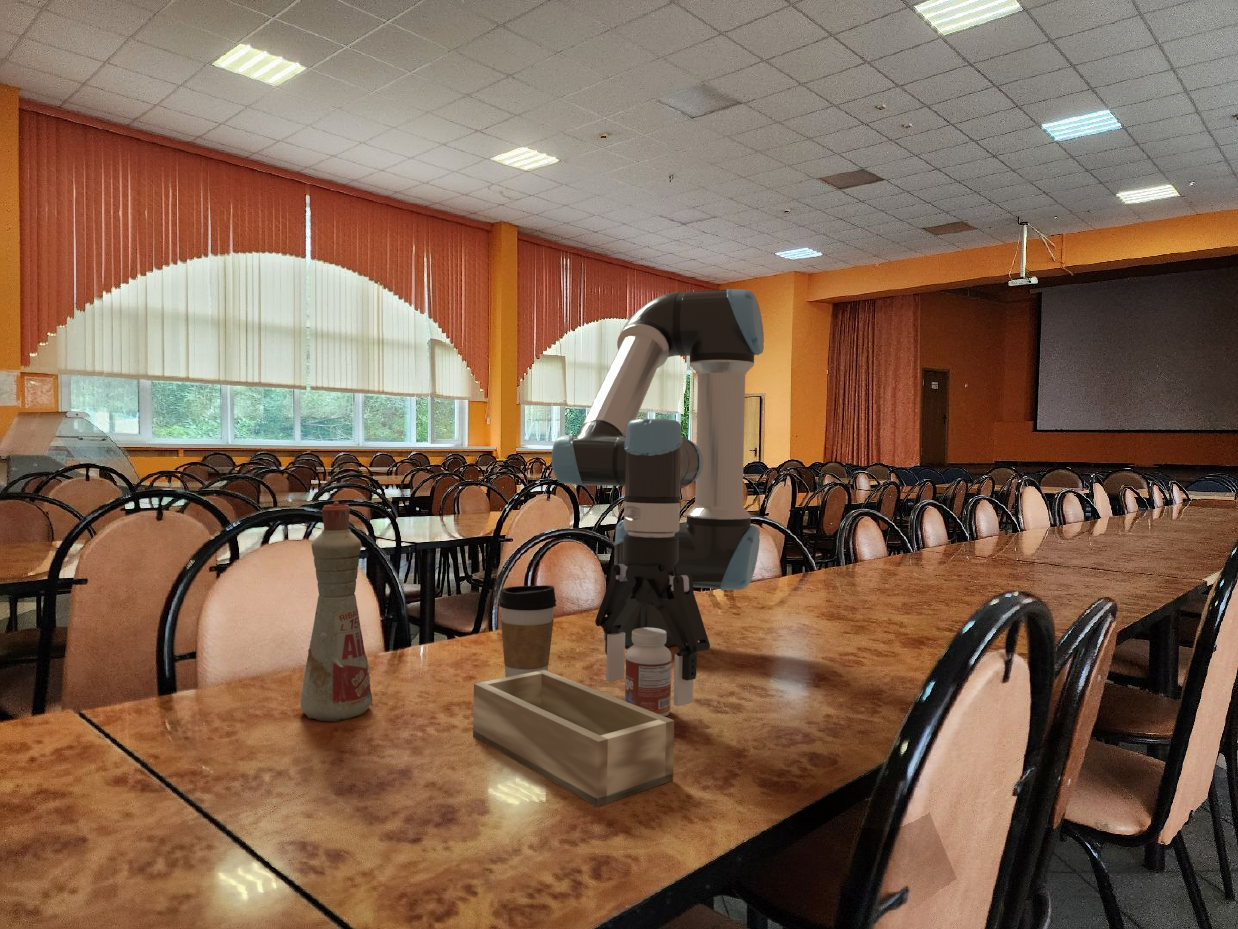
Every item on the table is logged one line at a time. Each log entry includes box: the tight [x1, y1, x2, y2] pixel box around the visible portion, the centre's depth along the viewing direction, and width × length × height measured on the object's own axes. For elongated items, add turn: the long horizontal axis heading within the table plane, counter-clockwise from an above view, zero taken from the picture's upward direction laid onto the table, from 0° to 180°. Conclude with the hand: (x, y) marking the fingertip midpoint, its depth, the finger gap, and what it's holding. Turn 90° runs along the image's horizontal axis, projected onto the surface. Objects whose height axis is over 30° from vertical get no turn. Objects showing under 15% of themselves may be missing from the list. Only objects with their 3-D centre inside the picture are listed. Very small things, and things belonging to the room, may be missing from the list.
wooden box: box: [472, 670, 675, 808], centre depth 92 cm, size 10×24×6 cm, turn 40°
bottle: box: [300, 500, 373, 723], centre depth 106 cm, size 9×9×28 cm
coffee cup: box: [498, 584, 557, 678], centre depth 118 cm, size 8×8×15 cm
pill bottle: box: [624, 628, 672, 717], centre depth 108 cm, size 6×6×11 cm
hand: (647, 691), depth 108 cm, fingers open, 13 cm apart
